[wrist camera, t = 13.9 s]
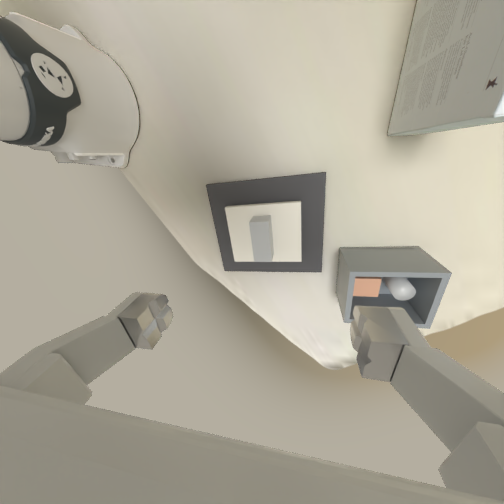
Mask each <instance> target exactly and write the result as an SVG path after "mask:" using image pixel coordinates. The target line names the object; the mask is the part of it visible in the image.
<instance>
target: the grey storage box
mask: <svg viewBox="0 0 504 504" xmlns="http://www.w3.org/2000/svg"><path fill="white" fill-rule="evenodd" d="M451 274H452V273H451V272H450V271H449V270H447V269H446V268H445V267H444V266H442V265H441V264H440V263H439V262H437V261H436V260H435V259H434V258H432V257H431V256H430V255H429V254H427V253H426V252H425V251H424V250H422V249H421V248H420V247H419V246H412V247H347V248H340V252H339V264H338V275H337V286H336V294H337V298H338V302H339V306H340V309H341V313H342V317H343V321H344V322H345V323H351V322H352V321H353V320H354V316H353V310H354V307H355V306H375V307H401V308H403V309H405V311H406V312H407V313H408V315H409V316H410V318H411V319H412V321H413V322H414V324H415V325H416V326H417V328H429V329H430V327H431V324H432V322H433V319H434V317H435V314H436V312H437V309H438V307H439V304H440V302H441V299H442V296H443V294H444V291H445V289H446V286H447V284H448V281H449V279H450V276H451Z"/></svg>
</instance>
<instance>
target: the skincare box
mask: <svg viewBox="0 0 504 504" xmlns="http://www.w3.org/2000/svg"><path fill="white" fill-rule="evenodd" d="M500 122H504V0H417V3H416V8H415V12H414V17H413V21H412V26H411V30H410V35H409V39H408V43H407V48H406V52H405V57H404V61H403V66H402V71H401V75H400V80H399V84H398V89H397V93H396V98H395V102H394V107H393V111H392V116H391V120H390V125H389V129H388V134H387V135H388V136H406V135H418V134H426V133H433V132H440V131H447V130H454V129H461V128H467V127H474V126H480V125H487V124H494V123H500Z"/></svg>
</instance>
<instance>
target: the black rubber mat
mask: <svg viewBox="0 0 504 504" xmlns="http://www.w3.org/2000/svg"><path fill="white" fill-rule="evenodd" d="M325 183H326V172H321V173H312V174H302V175H293V176H284V177H274V178H265V179H255V180H246V181H236V182H227V183H217V184H208V185H206V187H207V191H208V196H209V201H210V205H211V210H212V215H213V219H214V224H215V229H216V233H217V238H218V242H219V247H220V252H221V256H222V261H223V266H224V270H225V271H262V272H322V250H323V228H324V206H325ZM290 201H301V260H302V262H235V261H234V256H233V250H232V245H231V239H230V234H229V228H228V223H227V217H226V212H225V207H226V206H236V205H249V204H263V203H276V202H290Z"/></svg>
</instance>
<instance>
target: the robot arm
mask: <svg viewBox="0 0 504 504" xmlns="http://www.w3.org/2000/svg"><path fill="white" fill-rule="evenodd" d="M138 130H139V111H138V105H137V101H136V98H135V95H134V92H133V89H132V87H131V85H130V83H129V81H128V79H127V77H126V76H125V74H124V73H123V71H122V70H121V68H120V67H119V66H118V65H117V64H116V63H115V62H114V61H113V60H112V59H111V58H110V57H109V56H108V55H106V54H105V53H103V52H102V51H100V50H98V49H97V48H95V47H93V46H92V45H91V44H90V43H89V42H88V41H87V39H86V38H85V37H84V36H83V35H82V34H81V32H80V31H79V30H77V29H76V28H75V27H72V26H70V25H64V26H62V27H61V28H60V29H59V30H58V29H56V28H53V27H51V26H49V25H46V24H44V23H41V22H39V21H36V20H34V19H32V18H29V17H27V16H24V15H22V14H19V13H16V12H9V15H6V16H5V17H2V16H0V140H1V141H3V142H6V143H9V144H16V145H20V146H28V147H30V148H32V149H34V150H44V151H51V153H52V154H53V155H54V156H55V159H56V161H57V162H58V163H81V164H90V165H100V166H108V167H118V168H125V167H126V166H127V164H128V159H129V152H130V149H131V148H132V146H133V144H134V143H135V141H136V138H137V135H138ZM114 160H115V161H114ZM167 303H168V299H167V297H166V295H163V294H155V293H140V292H135V293H132V294H131V295H130V296H129V297H128V298H126V299H125V300H124V301H123V302H122V303H121V304H120V305H118V306H117V307H116V308H115V309H114V310H112V311H111V312H110V313H109V314H108V315H107V316H102V317H100V318H98V319H96V320H94V321H92V322H89V323H88V324H85V325H83V326H81V327H79V328H77V329H74V330H72V331H70V332H68V333H66V334H64V335H62V336H59V337H57V338H55V339H53V340H51V341H49V342H46V343H44V344H42V345H40V346H38V347H36V348H34V349H32V350H31V351H29V352H28V353H27V354H25V355H24V356H23V357H21V358H20V359H19V360H17V361H16V362H15V363H14V364H12V365H11V366H9V367H8V368H7V369H6V370H4V371H3V372H2V373H0V504H504V393H503V392H502V391H500V390H499V389H497V388H496V387H494V386H493V385H491V384H490V383H488V382H486V381H485V380H484V379H482V378H481V377H479V376H478V375H476V374H475V373H473V372H471V371H470V370H469V369H467V368H466V367H464V366H463V365H461V364H460V363H458V362H457V361H455V360H454V359H452V358H451V357H449V356H447V355H446V354H445V353H443V352H442V351H440V350H439V349H437V348H431V347H430V345H429V344H428V343H427V341H426V340H425V338H424V337H423V335H422V334H421V332H420V331H419V329H418V328H417V326H416V325H415V324H414V322H413V321H412V319H411V318H410V316H409V315H408V313H407V312H406V311H405V309H403V308H401V307H375V306H355V307H354V310H353V316H354V320H353V321H352V322H351V327H350V335H351V341H352V345H353V348H354V349H355V350H356V351H357V352H358V354H357V363H358V365H359V369H360V373H361V376H362V378H367V379H373V380H380V381H386V382H391V383H390V384H391V385H392V386H393V387H394V388H395V389H396V391H397V392H398V393H399V394H400V395H401V396H402V397H403V398H404V400H405V401H406V402H407V403H408V404H409V405H410V406H411V407H412V409H413V410H414V411H415V412H416V413H417V414H418V415H419V416H420V417H421V419H422V420H423V421H424V422H425V423H426V424H427V425H428V426H429V428H430V429H431V430H432V431H433V432H434V433H435V434H436V436H438V438H439V439H440V440H441V441H442V442H443V443H444V444H445V446H446V447H447V448H448V449H449V450H450V451H451V452H452V453H451V454H450V455H449V456H448V457H447V459H446V460H445V461H444V462H443V463H442V465H441V466H440V468H439V469H438V470H439V472H440V475H441V477H442V479H443V481H444V484H445V486H446V488H444V487H440V486H435V485H431V484H426V483H422V482H417V481H413V480H409V479H405V478H400V477H396V476H391V475H387V474H383V473H378V472H374V471H370V470H366V469H361V468H357V467H353V466H348V465H344V464H339V463H335V462H331V461H326V460H322V459H318V458H314V457H309V456H305V455H300V454H296V453H291V452H287V451H283V450H279V449H275V448H270V447H266V446H261V445H257V444H253V443H248V442H243V441H240V440H235V439H231V438H226V437H222V436H218V435H214V434H209V433H205V432H201V431H196V430H192V429H187V428H183V427H179V426H174V425H170V424H166V423H162V422H157V421H153V420H149V419H144V418H140V417H135V416H131V415H127V414H123V413H118V412H114V411H110V410H105V409H101V408H97V407H92V406H88V405H84V404H85V403H86V402H87V401H88V400H89V398H90V397H91V396H92V391H91V390H90V389H89V387H88V386H87V385H88V384H89V383H90V382H92V381H93V380H94V379H96V378H97V377H98V376H100V375H101V374H102V373H104V372H105V371H106V370H108V369H109V368H111V367H112V366H113V365H115V364H116V363H117V362H119V361H120V360H121V359H123V358H124V357H125V356H127V355H128V354H129V353H131V352H132V351H133V350H135V348H143V349H153V348H154V346H155V345H156V344H157V342H158V341H159V339H160V338H161V337H162V334H161V333H162V331H164V330H166V329H167V328H168V327H169V325H170V324H171V321H172V318H173V312H172V309H171V308H170V307H169V306H168V305H167Z"/></svg>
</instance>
